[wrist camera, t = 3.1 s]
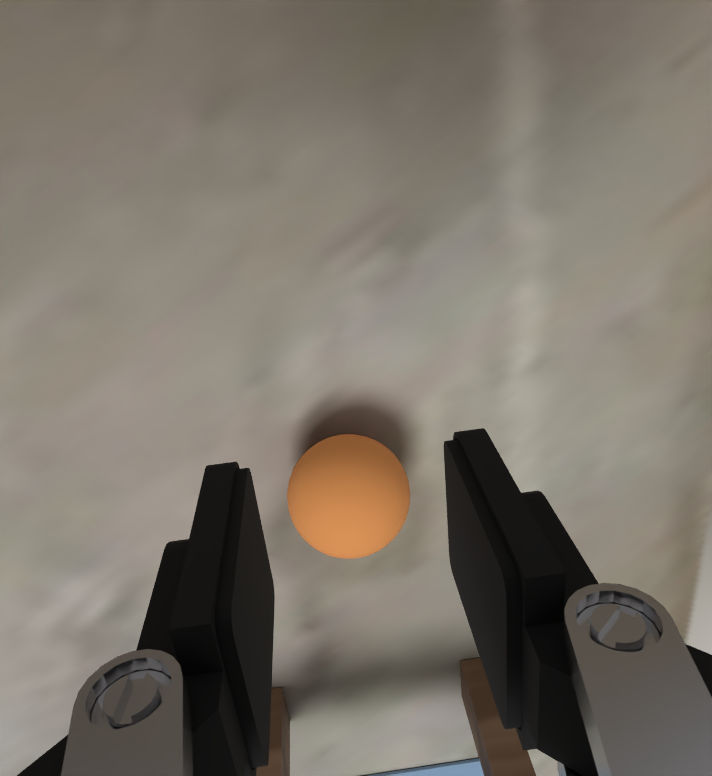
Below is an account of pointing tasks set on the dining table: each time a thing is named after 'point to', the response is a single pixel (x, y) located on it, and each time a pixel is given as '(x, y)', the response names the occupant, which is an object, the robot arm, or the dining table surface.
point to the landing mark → (442, 770)
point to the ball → (348, 496)
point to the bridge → (493, 743)
